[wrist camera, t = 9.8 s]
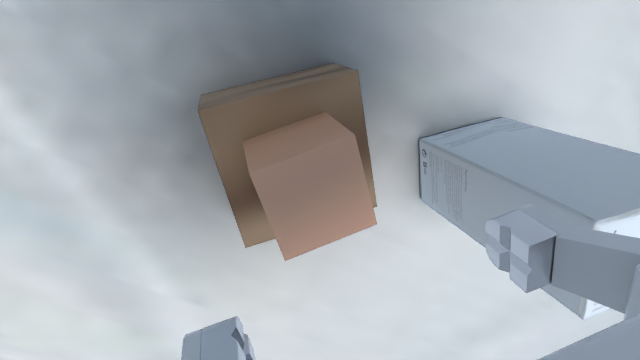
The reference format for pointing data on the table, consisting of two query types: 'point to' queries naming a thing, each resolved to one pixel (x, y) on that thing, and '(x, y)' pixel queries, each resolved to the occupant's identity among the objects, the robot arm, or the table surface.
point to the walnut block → (272, 113)
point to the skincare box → (530, 183)
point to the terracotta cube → (310, 183)
